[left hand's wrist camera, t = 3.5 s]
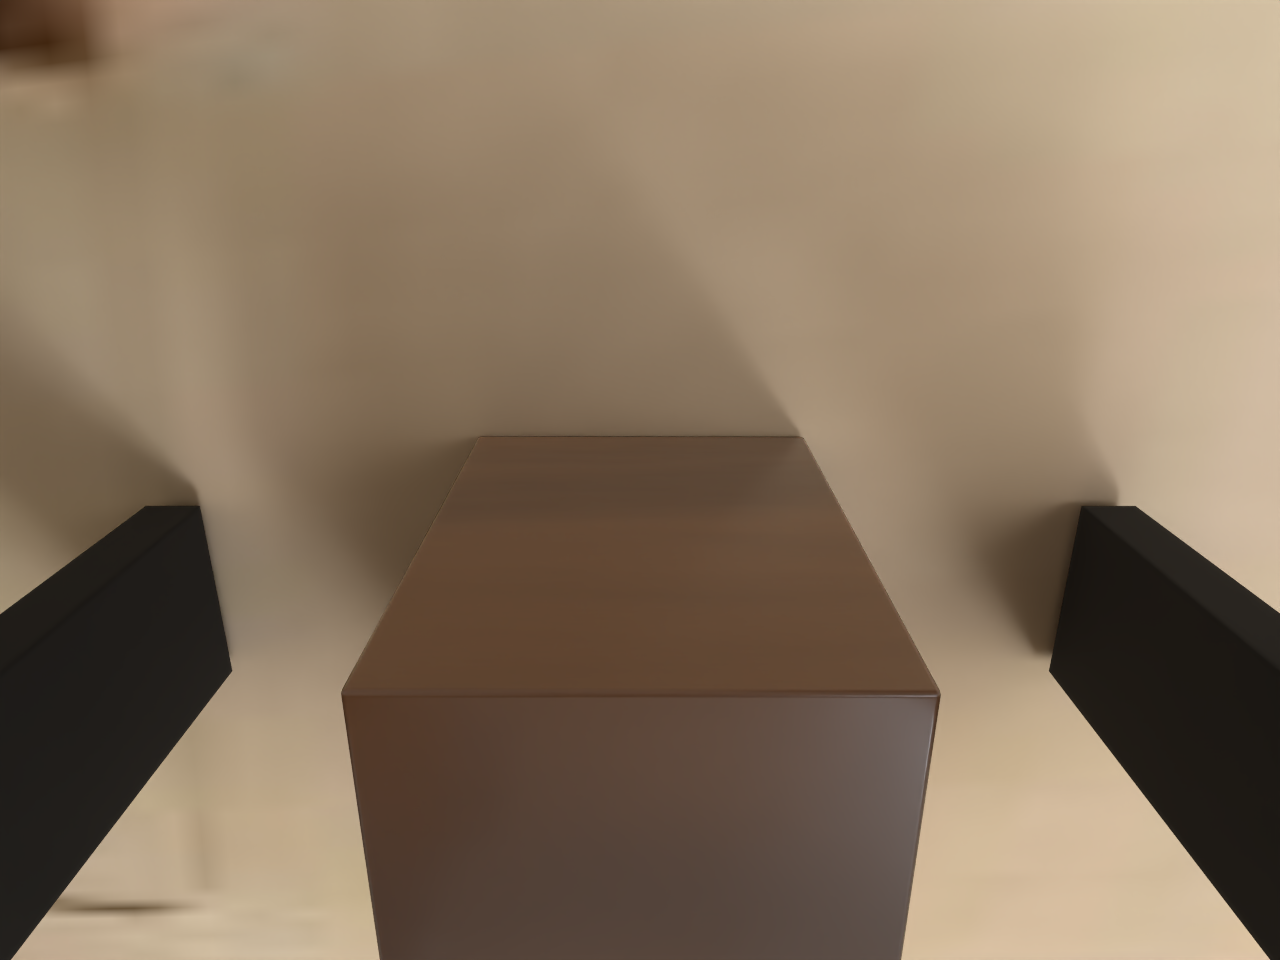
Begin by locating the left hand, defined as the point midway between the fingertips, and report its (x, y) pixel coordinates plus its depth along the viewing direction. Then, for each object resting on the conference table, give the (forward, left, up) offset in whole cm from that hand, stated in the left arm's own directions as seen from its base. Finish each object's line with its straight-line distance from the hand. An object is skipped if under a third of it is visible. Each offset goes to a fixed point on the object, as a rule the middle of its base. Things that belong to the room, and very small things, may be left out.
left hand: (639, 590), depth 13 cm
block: (0, 0, 0) cm, 0 cm away
